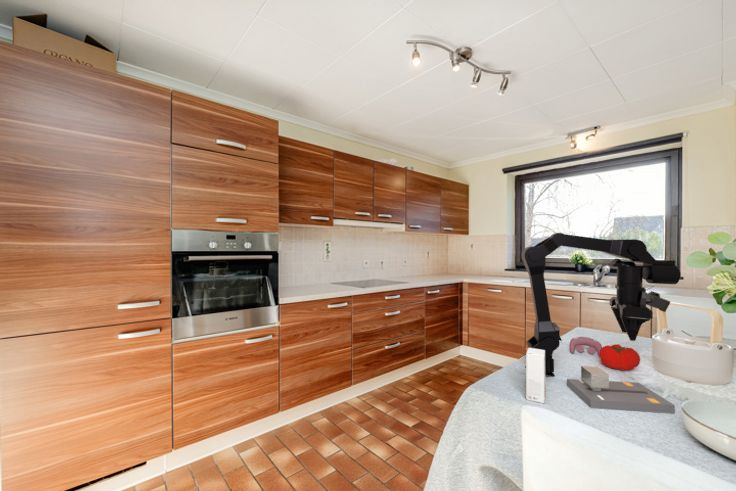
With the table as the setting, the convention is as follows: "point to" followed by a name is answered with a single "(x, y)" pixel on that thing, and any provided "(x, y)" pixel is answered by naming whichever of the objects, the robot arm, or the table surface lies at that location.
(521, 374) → the table surface
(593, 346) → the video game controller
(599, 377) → the fader knob
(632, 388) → the fader board
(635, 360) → the tomato
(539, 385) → the skincare box
